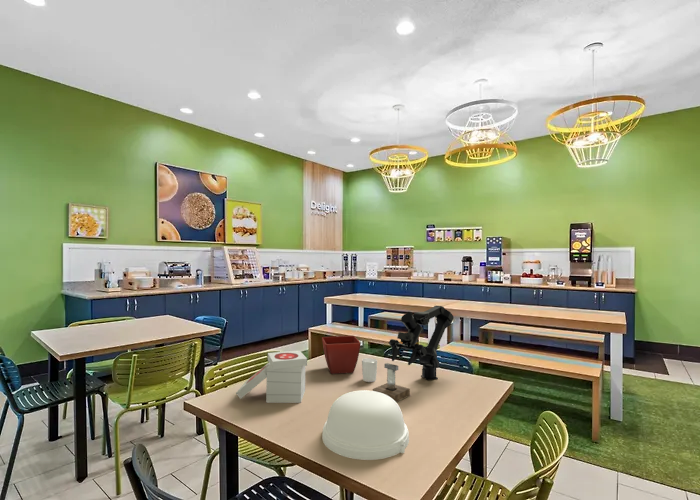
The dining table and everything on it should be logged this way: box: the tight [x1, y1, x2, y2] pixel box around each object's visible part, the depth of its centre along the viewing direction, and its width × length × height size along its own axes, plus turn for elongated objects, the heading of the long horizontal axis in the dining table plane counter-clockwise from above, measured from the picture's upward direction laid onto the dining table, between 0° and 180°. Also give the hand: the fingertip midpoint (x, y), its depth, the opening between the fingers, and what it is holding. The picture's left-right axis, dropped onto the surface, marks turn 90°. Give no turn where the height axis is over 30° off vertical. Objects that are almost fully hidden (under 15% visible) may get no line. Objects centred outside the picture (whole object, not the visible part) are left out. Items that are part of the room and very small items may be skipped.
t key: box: [383, 362, 399, 391], centre depth 163 cm, size 4×6×14 cm, turn 48°
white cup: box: [361, 357, 378, 383], centre depth 184 cm, size 8×8×10 cm
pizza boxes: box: [235, 350, 308, 404], centre depth 161 cm, size 19×30×18 cm, turn 90°
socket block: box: [372, 382, 411, 403], centre depth 163 cm, size 12×12×3 cm
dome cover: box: [321, 389, 410, 461], centre depth 126 cm, size 32×30×14 cm
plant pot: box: [321, 335, 362, 375], centre depth 200 cm, size 19×19×17 cm
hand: (400, 362), depth 170 cm, fingers open, 9 cm apart
